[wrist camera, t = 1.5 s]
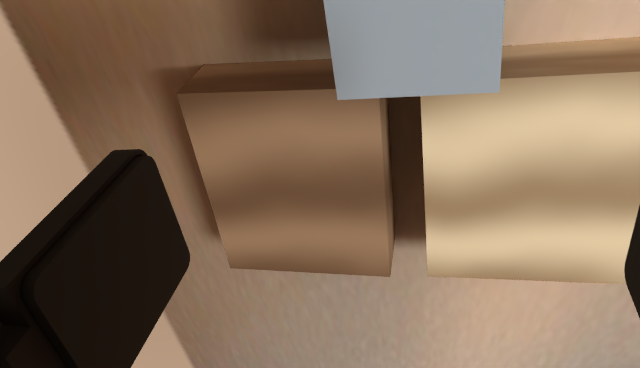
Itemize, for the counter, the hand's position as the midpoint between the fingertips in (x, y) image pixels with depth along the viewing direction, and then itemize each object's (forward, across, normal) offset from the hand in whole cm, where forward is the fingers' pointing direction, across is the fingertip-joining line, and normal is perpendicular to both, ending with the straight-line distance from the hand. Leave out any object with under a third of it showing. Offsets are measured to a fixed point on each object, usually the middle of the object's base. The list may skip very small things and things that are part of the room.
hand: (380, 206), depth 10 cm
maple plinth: (+17, -6, +9) cm, 21 cm away
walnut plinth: (+18, +7, +9) cm, 21 cm away
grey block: (+17, 0, -1) cm, 17 cm away
